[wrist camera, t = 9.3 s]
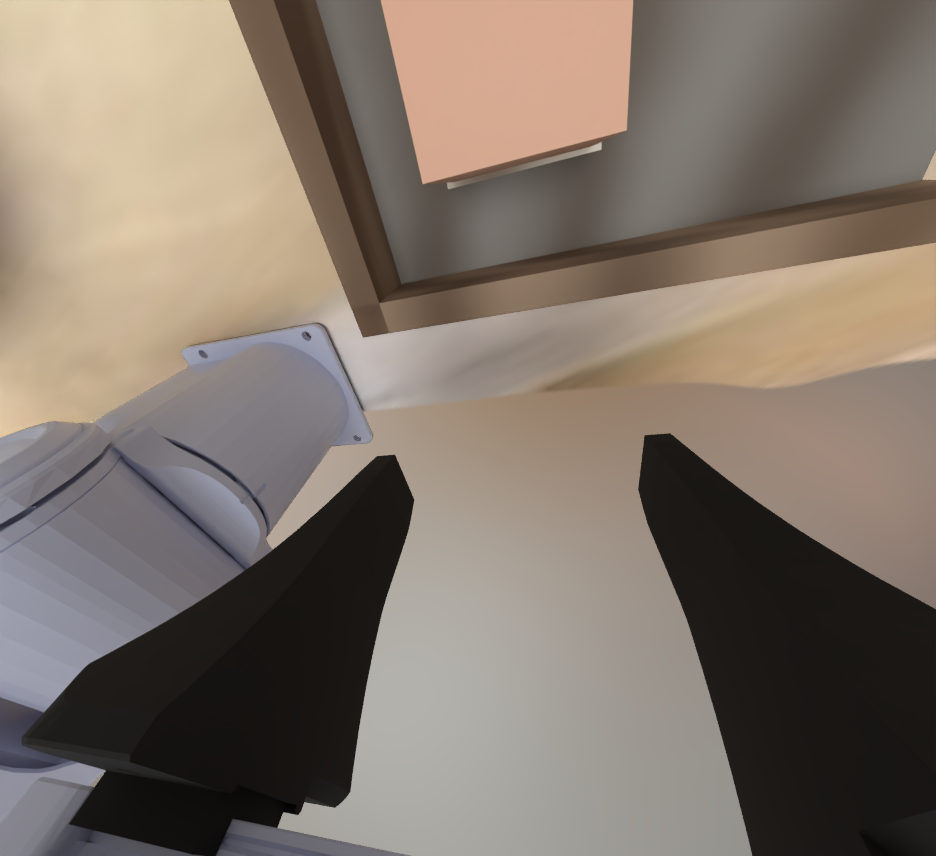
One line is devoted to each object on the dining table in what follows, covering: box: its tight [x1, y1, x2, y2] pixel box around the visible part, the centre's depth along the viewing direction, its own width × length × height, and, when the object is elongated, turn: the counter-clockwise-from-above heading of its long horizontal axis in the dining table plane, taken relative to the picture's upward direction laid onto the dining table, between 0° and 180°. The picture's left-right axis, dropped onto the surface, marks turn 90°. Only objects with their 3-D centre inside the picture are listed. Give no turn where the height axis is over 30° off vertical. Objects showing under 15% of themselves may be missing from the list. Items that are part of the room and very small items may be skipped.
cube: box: [381, 0, 633, 184], centre depth 9 cm, size 5×5×5 cm
